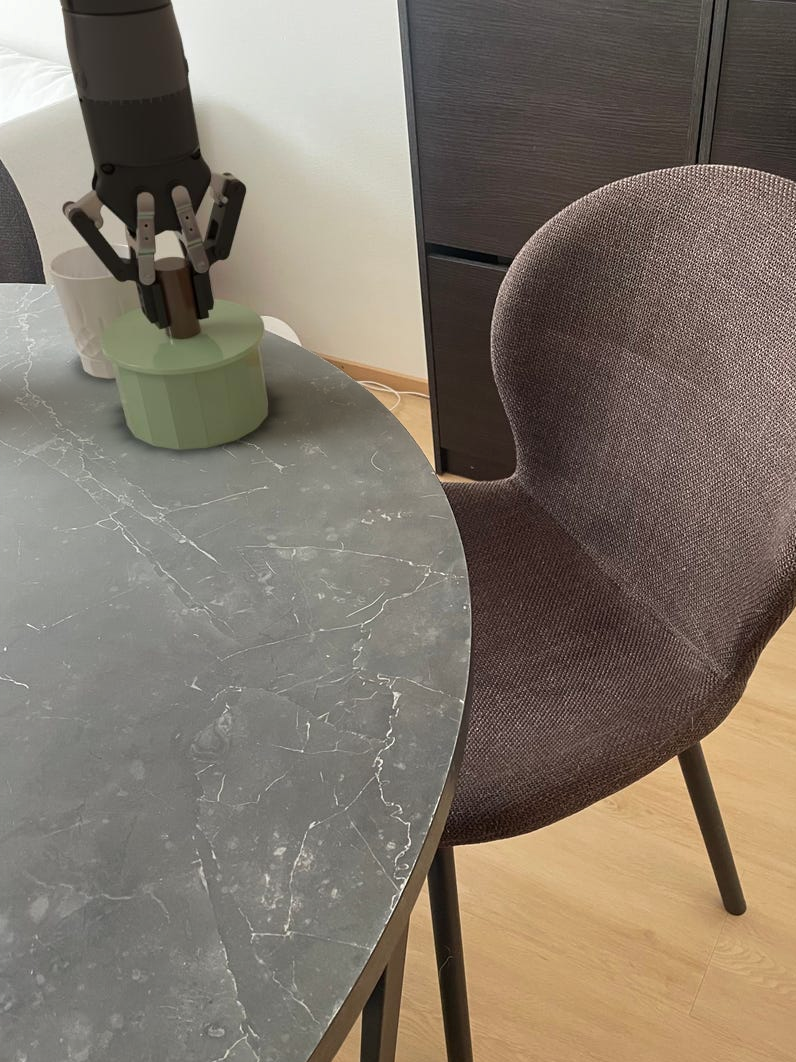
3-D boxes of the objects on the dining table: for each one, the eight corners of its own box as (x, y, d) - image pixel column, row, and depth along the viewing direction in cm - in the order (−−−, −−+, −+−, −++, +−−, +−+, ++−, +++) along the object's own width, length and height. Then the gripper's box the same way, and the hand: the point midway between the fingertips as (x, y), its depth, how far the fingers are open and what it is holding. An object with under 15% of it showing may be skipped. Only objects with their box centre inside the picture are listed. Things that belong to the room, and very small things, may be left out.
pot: (104, 446, 85) (81, 361, 80) (168, 380, 94) (151, 300, 89) (235, 464, 83) (220, 379, 78) (289, 396, 92) (278, 315, 87)
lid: (73, 371, 81) (49, 288, 76) (150, 303, 90) (134, 226, 85) (226, 391, 78) (211, 306, 74) (289, 319, 88) (279, 240, 83)
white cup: (184, 366, 96) (162, 259, 89) (110, 397, 91) (81, 287, 85) (134, 340, 100) (110, 235, 93) (61, 369, 95) (30, 261, 89)
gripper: (210, 55, 76) (246, 285, 88) (14, 81, 71) (79, 322, 82) (249, 78, 72) (281, 318, 83) (42, 108, 66) (106, 360, 78)
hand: (180, 319), depth 83 cm, fingers closed on lid, 2 cm apart
